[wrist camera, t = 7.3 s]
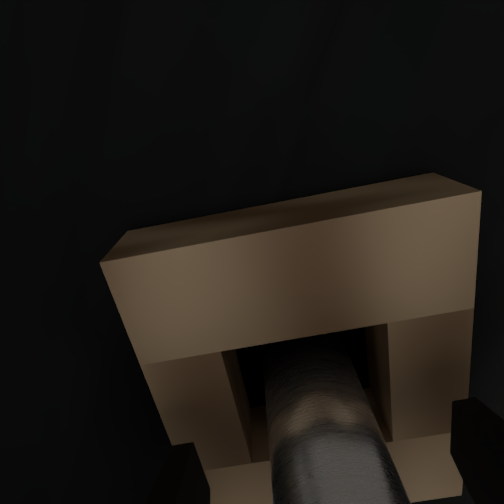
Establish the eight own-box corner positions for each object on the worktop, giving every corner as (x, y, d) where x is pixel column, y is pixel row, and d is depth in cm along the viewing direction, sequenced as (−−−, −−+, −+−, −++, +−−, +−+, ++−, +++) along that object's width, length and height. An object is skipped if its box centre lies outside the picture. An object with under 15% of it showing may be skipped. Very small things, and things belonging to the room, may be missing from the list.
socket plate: (211, 471, 16) (206, 532, 14) (127, 230, 12) (99, 262, 9) (429, 438, 16) (461, 495, 14) (432, 172, 11) (481, 191, 9)
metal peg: (272, 391, 15) (302, 685, 7) (252, 328, 13) (264, 605, 6) (349, 374, 14) (461, 661, 7) (336, 308, 13) (455, 572, 6)
